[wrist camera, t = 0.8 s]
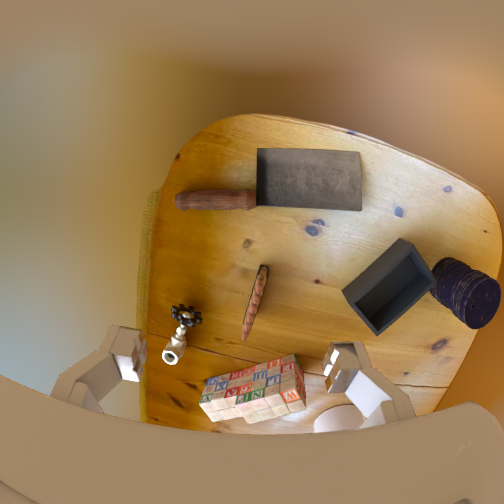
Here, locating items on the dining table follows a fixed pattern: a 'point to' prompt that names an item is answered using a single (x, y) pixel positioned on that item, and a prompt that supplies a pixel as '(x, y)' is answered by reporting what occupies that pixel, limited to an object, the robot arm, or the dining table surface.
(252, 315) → the ammunition clip
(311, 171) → the meat cleaver
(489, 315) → the dark blue cylinder
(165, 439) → the robot arm
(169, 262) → the dining table surface
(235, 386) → the stack of blocks
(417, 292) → the bin
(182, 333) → the valve
